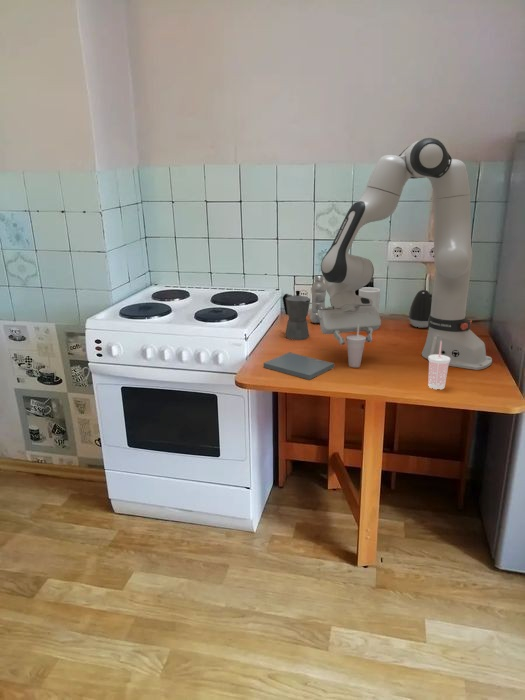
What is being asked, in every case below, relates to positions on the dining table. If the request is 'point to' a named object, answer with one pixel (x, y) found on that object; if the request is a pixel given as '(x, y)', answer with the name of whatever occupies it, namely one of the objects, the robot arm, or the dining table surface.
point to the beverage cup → (438, 370)
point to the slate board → (299, 365)
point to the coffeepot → (296, 316)
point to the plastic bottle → (317, 297)
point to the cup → (371, 295)
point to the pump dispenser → (420, 309)
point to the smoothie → (355, 348)
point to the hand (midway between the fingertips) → (356, 342)
